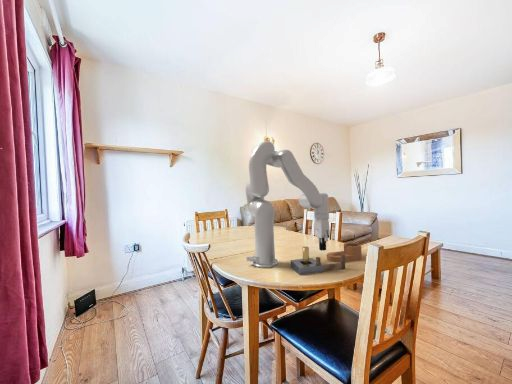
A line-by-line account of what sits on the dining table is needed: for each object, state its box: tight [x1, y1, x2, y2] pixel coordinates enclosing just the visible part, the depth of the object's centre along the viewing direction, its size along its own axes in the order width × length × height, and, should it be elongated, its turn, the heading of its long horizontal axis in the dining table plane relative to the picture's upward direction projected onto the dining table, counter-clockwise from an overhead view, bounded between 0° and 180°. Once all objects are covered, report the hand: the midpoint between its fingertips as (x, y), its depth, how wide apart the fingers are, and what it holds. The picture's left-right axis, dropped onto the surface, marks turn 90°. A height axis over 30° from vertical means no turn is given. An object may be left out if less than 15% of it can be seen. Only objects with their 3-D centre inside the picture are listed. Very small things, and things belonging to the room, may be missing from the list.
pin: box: [302, 246, 310, 265], centre depth 106 cm, size 3×3×10 cm
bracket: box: [326, 242, 363, 263], centre depth 118 cm, size 18×8×7 cm, turn 101°
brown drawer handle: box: [315, 254, 347, 272], centre depth 104 cm, size 14×2×6 cm, turn 101°
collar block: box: [290, 257, 324, 276], centre depth 106 cm, size 11×11×3 cm
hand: (322, 249), depth 126 cm, fingers closed
